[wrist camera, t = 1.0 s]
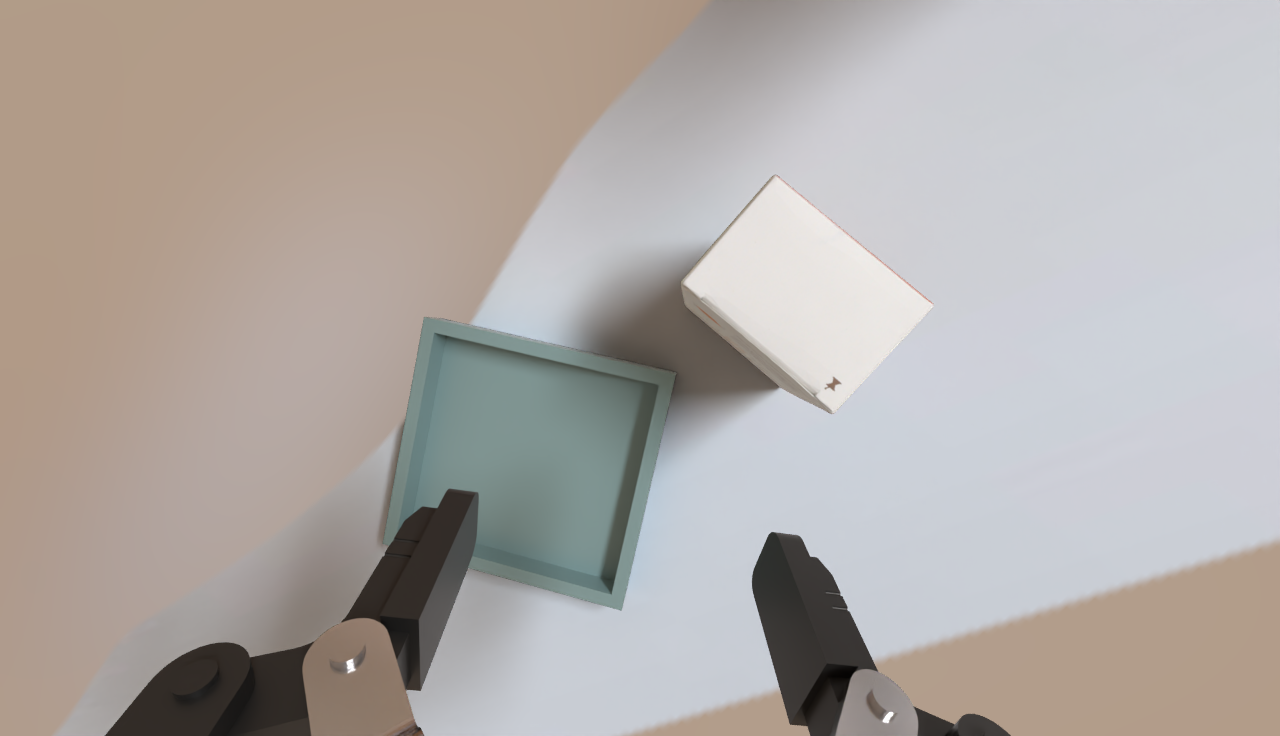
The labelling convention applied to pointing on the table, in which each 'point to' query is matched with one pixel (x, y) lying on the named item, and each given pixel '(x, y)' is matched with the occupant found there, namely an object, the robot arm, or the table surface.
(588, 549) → the tray
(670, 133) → the table surface
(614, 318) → the table surface
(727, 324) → the small box
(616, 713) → the table surface
